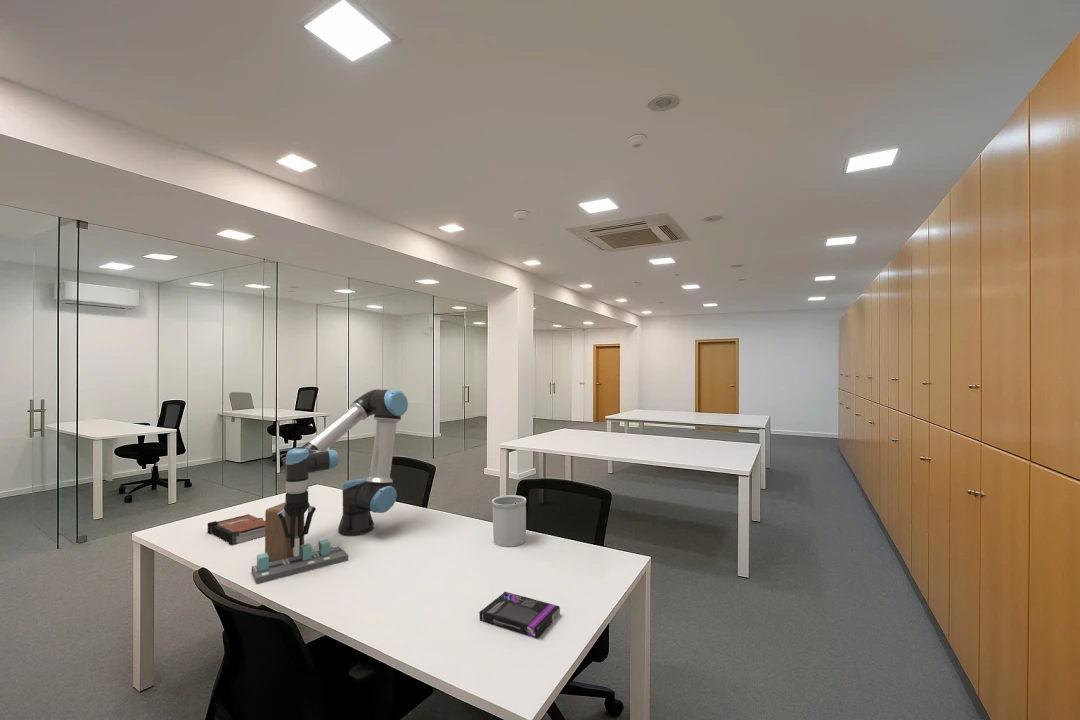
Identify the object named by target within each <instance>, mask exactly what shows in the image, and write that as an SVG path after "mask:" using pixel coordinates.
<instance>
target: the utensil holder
mask: <svg viewBox="0 0 1080 720" xmlns="http://www.w3.org/2000/svg"><path fill="white" fill-rule="evenodd" d="M515 503H516V504H515ZM526 505H527V498H526V497H524V496H522V495H515V494H507V495H500V496H497V497H495V498H493V499H492V500H491V506H492V529H493V530H492V533H493V544H495V545H496V546H500V547H504V548H505V547H507V548H508V547H509V548H510V547H518V546H521V545H523V544H524V543H526V541H527V507H526Z"/></svg>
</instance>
